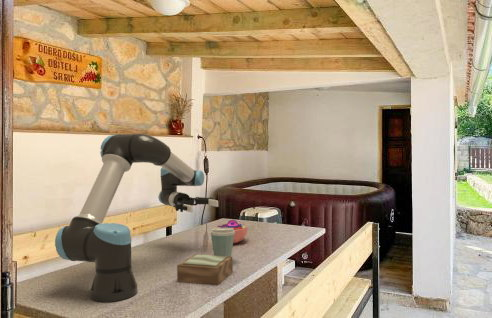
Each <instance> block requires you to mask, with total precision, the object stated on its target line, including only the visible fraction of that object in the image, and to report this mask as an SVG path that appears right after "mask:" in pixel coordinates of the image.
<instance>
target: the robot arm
mask: <svg viewBox="0 0 492 318" xmlns="http://www.w3.org/2000/svg"><path fill="white" fill-rule="evenodd" d="M99 153H100V157H101V162H102V163H103V164H102V166H101V168H100V171H99V173H98V175H97V177H96V179H95V181H94V183H93V185H92V187H91V189H90V192H89V194H88V196H87V198H86V200H85V202H84V204H83V206H82V208H81V211H80V212H79V214H78V215H76V216H74V217H72V218H71V221H70V223H69V225H65V226H63V227H60V229H59V230H58V231H57V232H56V236H55V239H54V246H55V251H56V253H57V255H58V256H59V257H60V258H61V259H62V260H67V261H71V262H89V263H95V273H94V278H93V281H92V284H91V287H90V288H91V289H90V299H91V300H92V301H96V302H102V303H108V302H109V303H110V302H118V301H123V300H126V299H130V298H131V297H133V296H135V295H136V294H137V293H138V283H137V281H136V277H135V275H134V272H133V268H132V266H133V265H132V236H131V230H130V228H129V227H128V226H127V225H125V224H121V223H116V222H114V223H113V222H112V223H111V222H110V223H108V222H105V223H103V222H104V220H105V218H106V216H107V214H108V211H109V209H110V206H111V204H112V202H113V199H114V197H115V195H116V193H117V190H118V188H119V185H120V184H121V181H122V179H123V177H124V174H125V173H126V172H129V171H130V170H131V168H132V165H133V164H137V163H149V164H153V165H154V166H160V167H161V168H160V185H161V189H160V192H159V194H158V201H159V202H160V203H161V204H162V205H165V206H170V207H172V208H174V209H175V211H176V212H179V210H180V213H183V212H188V213H194V208H193V206H198V205H208V206H211V207H215V208H218V207H219V200H216V199H215V198H214V197H211V196H210V197H200V196H196V197H190V195H189V194H187V193H185V192H181V191H180V192H179V191H178V187H201V186H202V185H203V184H204V182H205V174H204V172H203V171H202V170H198V169H197V170H196V169H195V170H194V169H193V168H192V167H191V166H189V165H188V164H187V163H186V162H184V161H183V160H182V159H180V157H178V156H177V155H176V154H174V153H173V152H172V150H171V148H170V146H169V145H167V144H166V143H165V142H163V141H162V140H160V139H158V138H156V137H154V136H152V135H149V134H145V133H130V134H129V133H126V134H121V133H118V134H117V133H116V134H112V135H108V136H106V137H105V138H104V140H103V141H102V142H101V145H100V151H99Z"/></svg>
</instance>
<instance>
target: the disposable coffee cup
mask: <svg viewBox="0 0 492 318" xmlns="http://www.w3.org/2000/svg"><path fill="white" fill-rule="evenodd" d="M234 234H235V231H234V229H233V228H216V227H215V228H212V229H211V230H210V236H211V237H210V238H211V244H212V251H213V255H214V256H230V257H232V254H233V245H234V243H233V240H234Z"/></svg>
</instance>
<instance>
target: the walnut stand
mask: <svg viewBox="0 0 492 318" xmlns="http://www.w3.org/2000/svg"><path fill="white" fill-rule="evenodd" d="M233 263H234V262H233V256H231V257H230V256H214V254H213V255H212V254H210V255H209V254H193V255H192V256H190V257H188V258H187V259H185V260H184V261H182V262H180V263H179V264H177V265H176V271H177V272H176V279H177V280H176V281H177V282H180V283H188V284H189V283H190V284H191V283H192V284H203V285H215V286H219V285H220V284H221V283H222V282H223V281H224V280H225V279H226V278H228V277H229V276H230V275H231V274H233V272H234V271H233V270H234V269H233V267H234V266H233Z"/></svg>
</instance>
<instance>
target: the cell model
mask: <svg viewBox="0 0 492 318" xmlns="http://www.w3.org/2000/svg"><path fill="white" fill-rule="evenodd" d="M215 228H233V229H234V231H235V234H234V240H233V244H238V243H240V242H241V241H243V240H244V239H245V238H246V237H247V235H248V226H247V225H246V224H244V223H238V222H237V220H235V219H230V220H228V221H227V223H223V224H221V223H220V224H219V225H216V226H215Z"/></svg>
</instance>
